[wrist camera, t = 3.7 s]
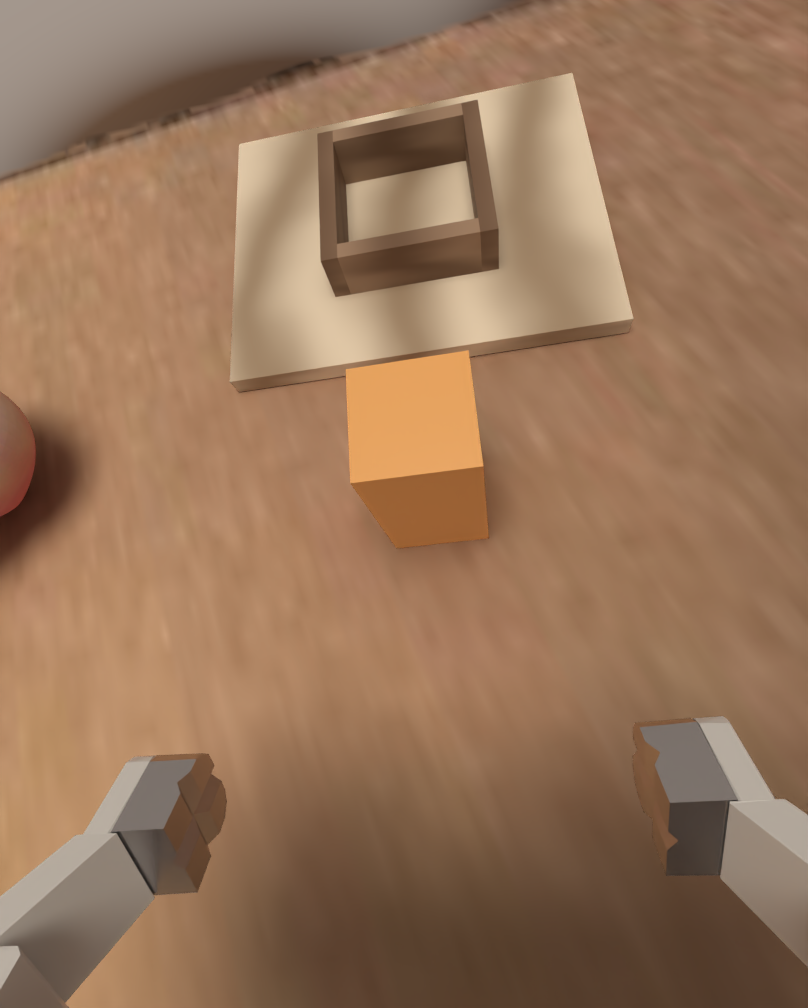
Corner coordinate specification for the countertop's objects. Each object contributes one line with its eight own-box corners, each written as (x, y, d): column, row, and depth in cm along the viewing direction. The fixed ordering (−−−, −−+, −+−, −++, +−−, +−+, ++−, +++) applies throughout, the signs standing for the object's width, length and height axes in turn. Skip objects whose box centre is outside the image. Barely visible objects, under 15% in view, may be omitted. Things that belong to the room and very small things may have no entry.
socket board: (570, 91, 31) (578, 20, 28) (628, 332, 26) (647, 279, 23) (246, 159, 34) (219, 101, 30) (238, 392, 28) (204, 352, 25)
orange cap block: (478, 452, 25) (468, 350, 18) (488, 538, 24) (483, 466, 16) (390, 464, 26) (345, 369, 18) (396, 548, 24) (350, 483, 17)
